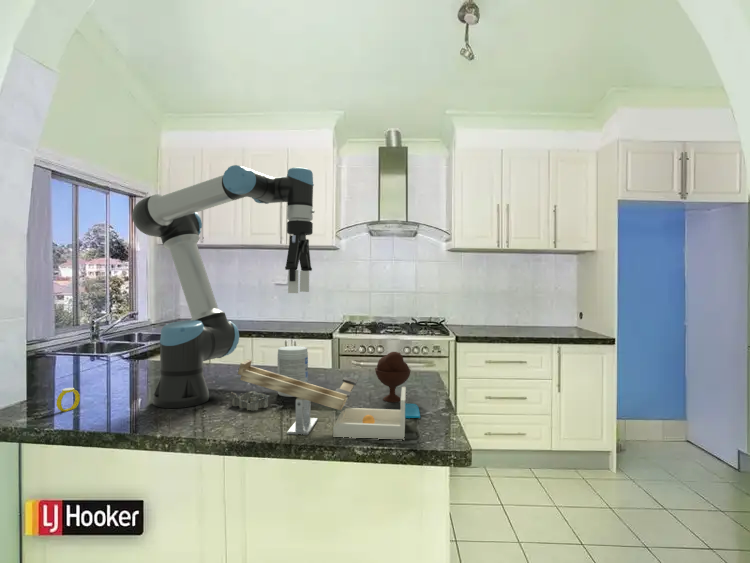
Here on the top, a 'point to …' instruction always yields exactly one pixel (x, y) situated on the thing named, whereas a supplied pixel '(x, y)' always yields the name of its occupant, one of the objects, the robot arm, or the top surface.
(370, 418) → the ball
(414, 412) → the sponge
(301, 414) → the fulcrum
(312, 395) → the beige angled channel
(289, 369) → the supplement tub
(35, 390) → the top surface
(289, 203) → the robot arm
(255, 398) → the egg carton
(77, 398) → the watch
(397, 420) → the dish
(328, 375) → the top surface
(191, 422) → the top surface
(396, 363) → the ice cream bowl
